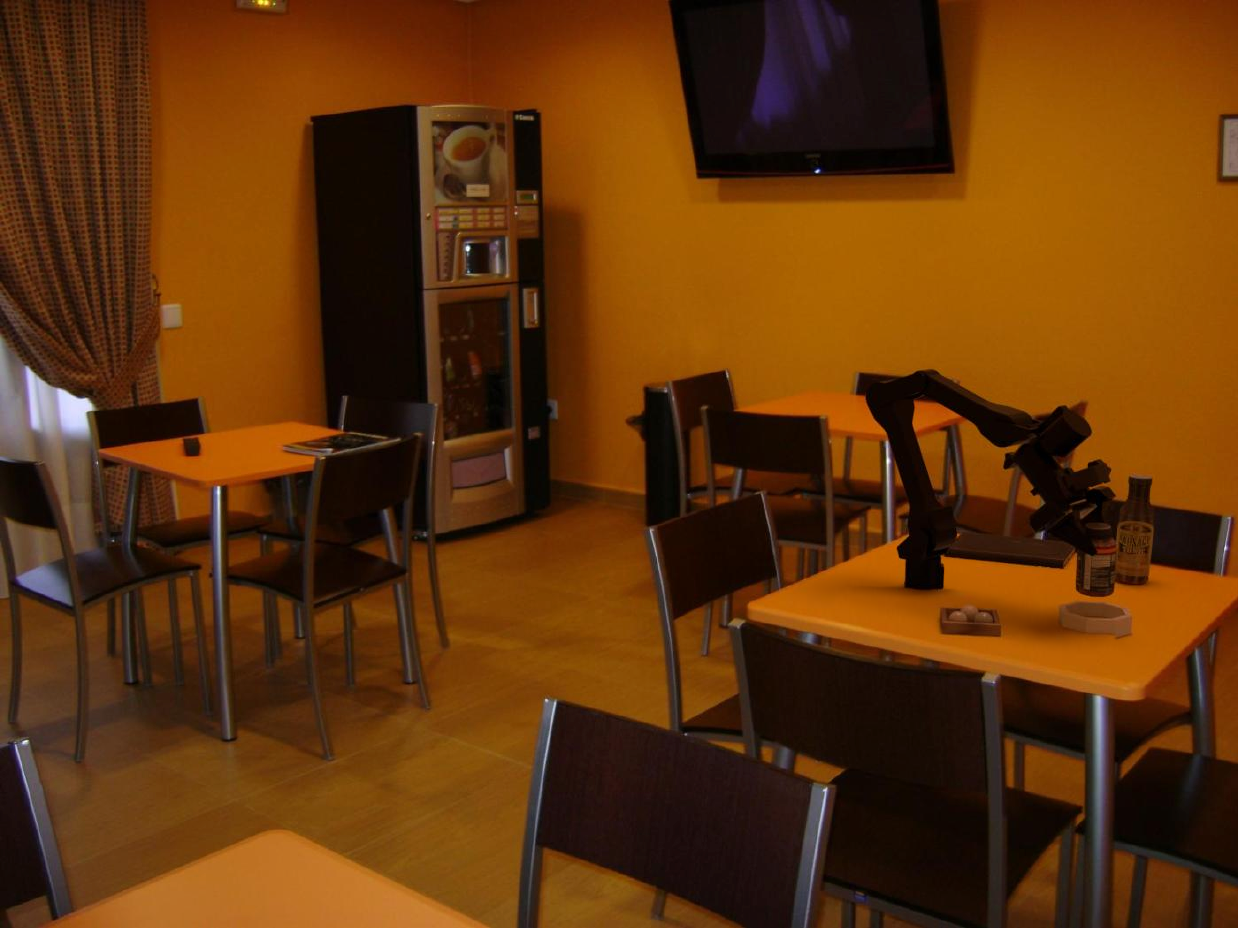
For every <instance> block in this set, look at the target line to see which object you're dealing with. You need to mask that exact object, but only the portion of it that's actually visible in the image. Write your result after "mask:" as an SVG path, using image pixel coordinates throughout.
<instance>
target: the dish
mask: <svg viewBox="0 0 1238 928" xmlns="http://www.w3.org/2000/svg"><path fill="white" fill-rule="evenodd" d="M1058 608H1059V610H1058V611H1059V612H1058V620H1059V621H1060V624H1061V626H1062V627H1064V628H1067V629H1071V630H1075V631H1077V632H1082V633H1085V634H1106V635H1113V637H1114V638H1115V639H1118V638H1120V637H1121V638H1122V637H1125V636H1128V635H1131V634H1132V623H1133V615H1132V612H1130V610H1129V609H1128V607H1124V606H1121V605H1118V604H1113V603H1109V602H1105V601H1092V600H1091V601H1088V600H1076V601H1070V602H1066V603H1063V604H1060V605H1059V607H1058ZM1087 616H1088V617H1087ZM1100 617H1102V618H1100Z"/></svg>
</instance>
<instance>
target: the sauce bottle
mask: <svg viewBox="0 0 1238 928" xmlns="http://www.w3.org/2000/svg"><path fill="white" fill-rule="evenodd" d="M1153 479H1154V478H1153V476H1150V475H1146V474H1129V476H1128V480H1127V483H1128V492H1127V493H1128V494H1127V499H1125V502H1124V503H1123V505H1122V506H1121V507H1120V509H1119V516H1118V523H1117V529H1116V530H1117V531H1116V540H1115V541H1116V545H1117V548H1116V568H1115V582H1119V583H1121V584H1122V583H1123V584H1127V585H1128V584H1129V585H1143V584H1145V583H1147V582H1148V580H1149V575H1150V571H1151V570H1150V568H1151V561H1152V560H1151V559H1152V550H1153V543H1154V542H1153V540H1154V531H1155V529H1154V525H1155V515H1156V512H1155V510H1154V508H1153V505H1152V504H1151V502H1150V501H1151V487H1152V485H1153Z"/></svg>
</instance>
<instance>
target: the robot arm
mask: <svg viewBox="0 0 1238 928" xmlns="http://www.w3.org/2000/svg"><path fill="white" fill-rule="evenodd" d="M923 396H925V397H927V398H929V399H930V400H932V401H934V402H935V403H938V404H939V405H941V406H943V407H944V408H946V409H948V410H949V411H951V412H953V413H955V414H957V415H958V416H960V417H962V418H963V419H965V420H967V421H969V422H970V423H972V424H973V425H974V426H975V427H976V428H977V430H978V432H979V434H980V435H982V437H984V438H985V439H986V440H987V441H989V442H990V444H992V445H993V446H995V447H997V448H1001V449H1002V448H1003V449H1004V448H1009V447H1014V446H1017V445H1021V446H1019V447H1018V448H1017V449H1016V450H1014V451H1009V452H1006V453H1005V454H1004V461H1003V465H1002V467H1003V470H1005V471H1006V470H1009V469H1014V468H1018V469H1019V471H1020V472H1021V473H1022V474H1023V476H1024V478H1026V480H1027V481H1028V482H1029V484H1030V486H1031V487H1032V489H1031V490H1030V491H1029V492H1030V494H1032V497H1036V496H1039V497H1040V499H1041V500H1042V501H1043V502H1044V503H1043V504H1042V505H1041V506H1040V507H1039V508H1038V509H1036V510H1035V511H1034V512H1033V513H1032V514H1030V515H1029V516H1028V526H1029V528H1030V529H1031V531H1032V532H1033V533H1034V534H1035V535H1037V534H1039V533H1042V532H1043V533H1044V532H1045V534H1047V535H1048V536H1052V537H1055V538H1056V539H1059V541H1064V542H1066V543H1068V544H1070V545H1072V546H1074V547H1075V549H1077V548H1078V549H1080V550H1081V551H1083V552H1085V553H1087V554H1089V555H1090V556H1094V555H1095V554H1097V550H1096V548H1095V546H1094V544H1093V543H1092V541H1091V540H1090V538H1089V536H1088V535H1087V533H1086V532H1085V530H1084V529H1085V525H1086V524H1088V523H1104V524H1108V525H1110V524H1109V523H1110V522H1109V520H1108V518H1107V512H1108V507H1109V505H1110V504H1111V501H1112V500H1114V499H1115V498H1116V497H1117V494H1115V492H1114V491H1113V490H1112V489H1111V487H1110V486H1104V485H1102V484H1107V483H1110V482H1111V481H1112V480H1111V478H1110V474H1111V472H1112V467H1110V466H1108V464H1107V462H1104V461H1103V460H1102V459H1101V458H1099V459H1095V460H1092V461H1089V462H1088V463H1087V466H1086V468H1083V469H1080V470H1076V471H1074V469H1073V468H1071V467H1069V466H1068V467H1063V465H1062V464H1061V463H1060V462H1059V461H1058V460H1057V458H1056V457H1060V458H1066V457H1068V456H1069V455H1070V454H1071V453H1072V452H1073V451H1074V450H1076V449H1077V448H1078V447H1079V446H1081V444H1083V443H1084V442H1085V441H1086V440H1087V439H1089V438H1090V436H1092V434H1093V429H1092V427H1091V425H1090V424H1089V422H1088V421H1087V419H1086V418H1085V417H1082V416H1081V415H1080V414H1079V413H1077V412H1075V411H1074V410H1070V409H1069V407H1068V406H1067V405H1066V404H1063V405H1058V406H1057V407H1056V408H1055V409H1054V410H1053V411H1052V413H1051V414H1050V415H1049V416H1048V417H1047V418H1045V420H1044V421H1042V420H1039V419H1034V418H1033V417H1032V416H1031V414H1030V413H1028V412H1026V411H1024V410H1022V409H1019V408H1015V407H1013V406H1009V405H1004V404H999V403H995V402H991V401H990V400H987V399H986V398H984V397H982V396H980V395H979V394H976V393H975V392H973V391H971V390H969V389H967V388H966V387H964V386H962V385H960V384H958V383H957V382H954V381H953V380H951V379H949V378H947V377H946V376H944V375H942V374H941V373H940V371H939V372H938V371H937V370H936V369H933V368H927V369H921V370H917V371H915V372H913V373H911V374H908V375H905V376H902V377H900V378H896V379H890V380H883V381H876V382H873V383H872V384H870V386H869V387H868V389H867V391H866V393H865V403H866V406H867V408H868V409H869V411H870V414H871V416H872V418H873V420H874V421H875V422H876V423H877V424H878V425H879V426H880V427H881V428H882V430H883V431H885V434H886V436H887V439H888V443H889V446H890V449H891V452H892V455H893V458H894V462H895V464H896V467H897V470H898V474H899V477H900V480H901V483H902V486H903V490H904V493H905V497H906V499H907V502H908V505H909V507H908V508H909V509H908V516H907V521H906V525H907V532H908V536H907V537H906V538H905V539H904V540H903V541H902V542H901V543H899V544H898V545H897V546H896V553H897V555H898V559H901V560H904V562H905V563H904V566H905V567H904V581H903V587H904V589H912V590H919V591H930V590H931V591H932V590H943V589H944V587H945V582H944V581H945V564H944V563H943V562H942V556H944V555H947V553H948V551H949V548H950V546H951V545H952V544H953V543H954V541H955V539H956V538H957V537H958V530H957V528H958V527H959V524H958V523H957V521H956V519H955V516H954V509H953V508H952V506H951V505H950V504H949V505H944V506H943V504H942V503H941V502H940V501H939V500H938V499H937V496H936V495H935V491H934V487H933V484H932V482H931V481H932V480H931V477H930V474H929V472H928V469H927V466H926V463H925V462H926V461H925V459H924V457H923V453H922V449H921V448H920V444H919V441H918V438H917V435H916V431H915V428H914V424H913V422H914V415H915V409H916V407H915V406H916V404H915V400H917V399H919V398H921V397H923ZM1032 438H1033V439H1034V438H1035V439H1034V440H1033V441H1032V442H1031V443H1029V441H1030V440H1031V439H1032ZM1099 485H1100V486H1099ZM1096 486H1097V487H1096ZM1090 488H1091V489H1090ZM1047 525H1049V526H1050V528H1049V529H1048V530H1047ZM1046 530H1047V531H1046ZM1110 537H1111V538H1113V539H1114V540H1115V537H1114V534H1113V531H1112V530H1111V534H1110Z"/></svg>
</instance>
